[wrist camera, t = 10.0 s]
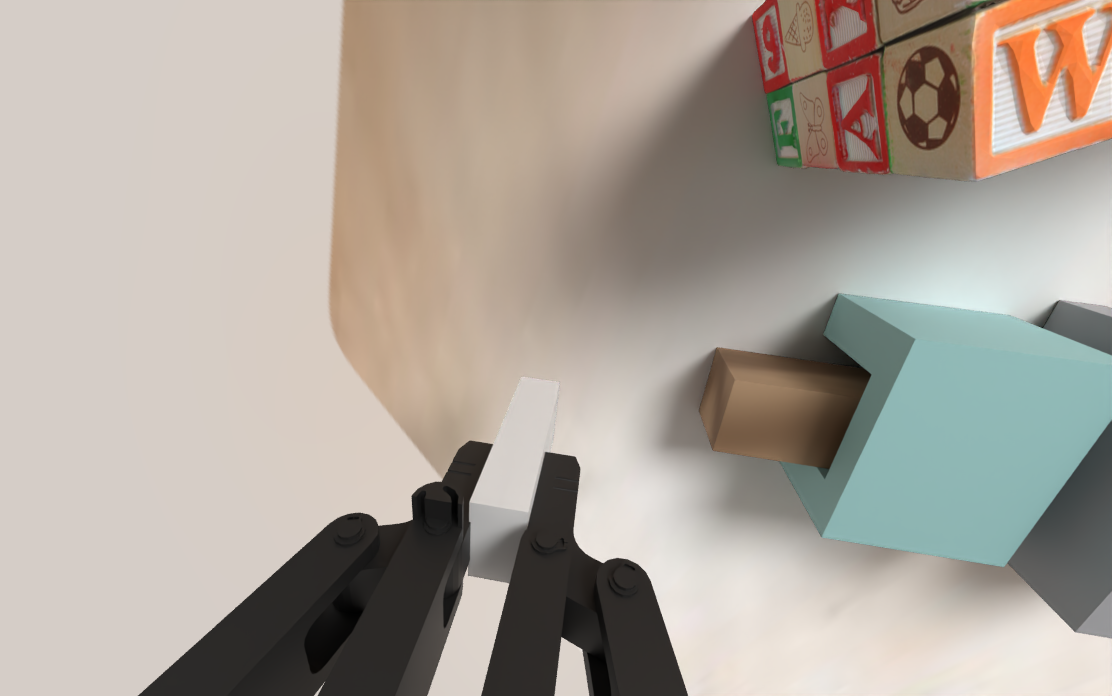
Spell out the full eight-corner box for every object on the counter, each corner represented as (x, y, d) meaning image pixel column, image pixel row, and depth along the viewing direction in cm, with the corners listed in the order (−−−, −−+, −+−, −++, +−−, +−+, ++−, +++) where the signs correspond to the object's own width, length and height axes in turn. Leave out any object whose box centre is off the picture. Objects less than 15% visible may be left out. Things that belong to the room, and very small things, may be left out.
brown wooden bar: (715, 345, 24) (734, 379, 20) (907, 373, 23) (962, 413, 20) (698, 408, 25) (712, 450, 22) (876, 435, 25) (922, 483, 21)
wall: (1059, 300, 21) (1303, 377, 13) (1104, 305, 21) (1376, 387, 13) (942, 496, 26) (1075, 632, 18) (978, 502, 25) (1126, 640, 18)
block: (838, 293, 22) (915, 338, 16) (1009, 315, 21) (1148, 369, 16) (776, 456, 26) (821, 537, 20) (918, 478, 25) (1004, 566, 20)
